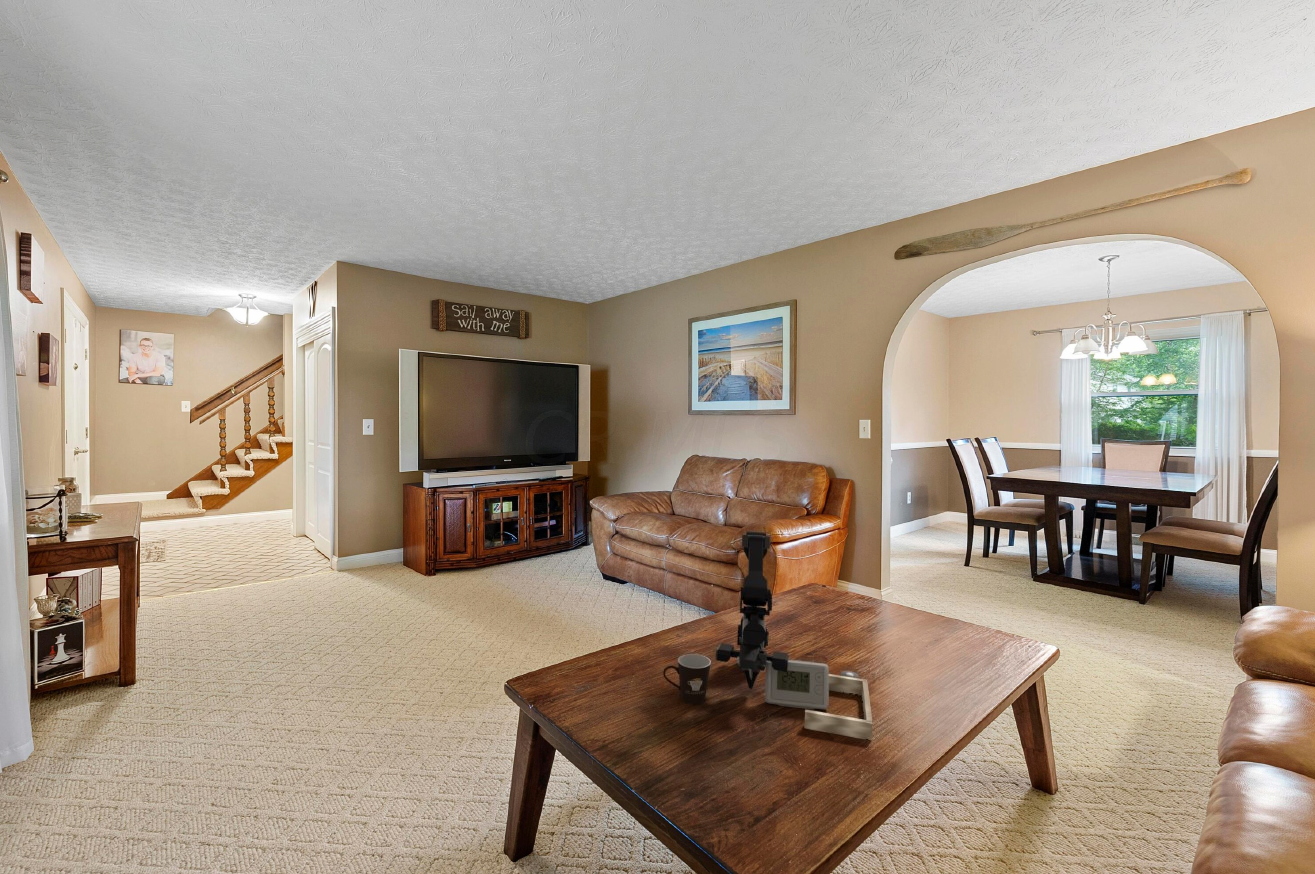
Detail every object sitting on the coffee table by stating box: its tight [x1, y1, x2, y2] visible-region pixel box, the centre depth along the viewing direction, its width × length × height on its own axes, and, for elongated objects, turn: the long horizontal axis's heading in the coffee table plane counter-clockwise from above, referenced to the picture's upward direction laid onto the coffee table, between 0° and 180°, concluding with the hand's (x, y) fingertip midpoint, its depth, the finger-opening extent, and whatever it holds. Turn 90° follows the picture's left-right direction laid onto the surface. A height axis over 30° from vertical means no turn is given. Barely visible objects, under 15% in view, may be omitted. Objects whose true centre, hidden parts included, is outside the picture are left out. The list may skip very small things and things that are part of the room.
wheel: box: [839, 670, 860, 679], centre depth 167 cm, size 5×5×2 cm
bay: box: [803, 673, 874, 741], centre depth 150 cm, size 15×23×4 cm, turn 164°
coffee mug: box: [662, 653, 712, 706], centre depth 154 cm, size 12×9×10 cm
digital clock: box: [764, 659, 830, 711], centre depth 153 cm, size 16×9×11 cm, turn 70°
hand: (750, 688), depth 156 cm, fingers closed, pressing on digital clock
